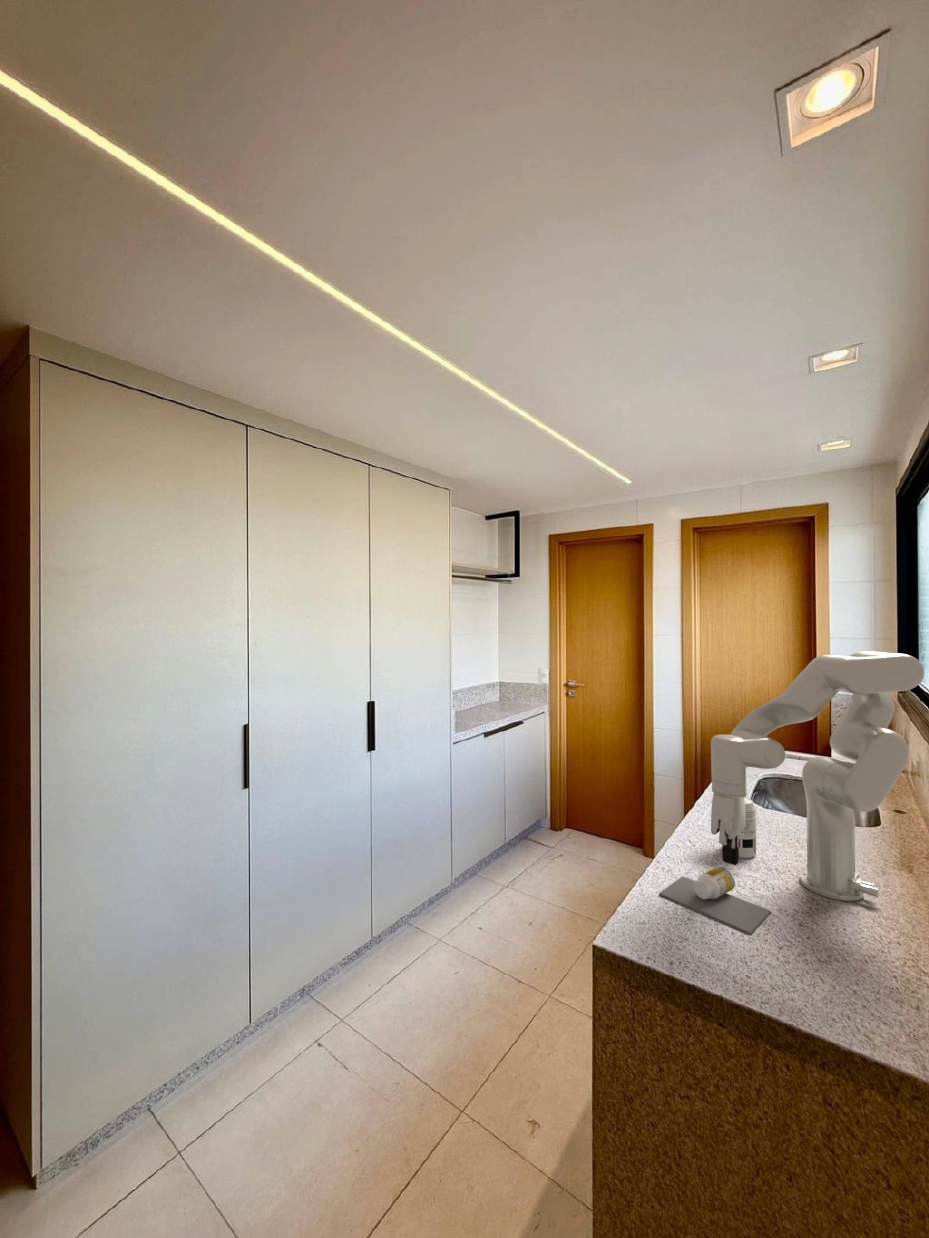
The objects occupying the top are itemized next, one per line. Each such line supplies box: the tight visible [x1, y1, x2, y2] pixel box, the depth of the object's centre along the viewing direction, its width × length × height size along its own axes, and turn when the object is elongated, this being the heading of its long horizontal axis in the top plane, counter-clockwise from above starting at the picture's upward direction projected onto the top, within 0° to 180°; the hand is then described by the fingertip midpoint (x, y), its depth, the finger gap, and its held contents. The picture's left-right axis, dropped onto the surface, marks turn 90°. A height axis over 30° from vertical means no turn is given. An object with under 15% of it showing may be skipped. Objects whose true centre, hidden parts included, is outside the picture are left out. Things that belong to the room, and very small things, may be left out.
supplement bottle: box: [694, 866, 736, 899], centre depth 117 cm, size 5×5×10 cm
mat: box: [658, 875, 772, 936], centre depth 114 cm, size 20×12×1 cm, turn 41°
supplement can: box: [737, 796, 757, 859], centre depth 140 cm, size 8×8×15 cm
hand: (730, 862), depth 120 cm, fingers closed
